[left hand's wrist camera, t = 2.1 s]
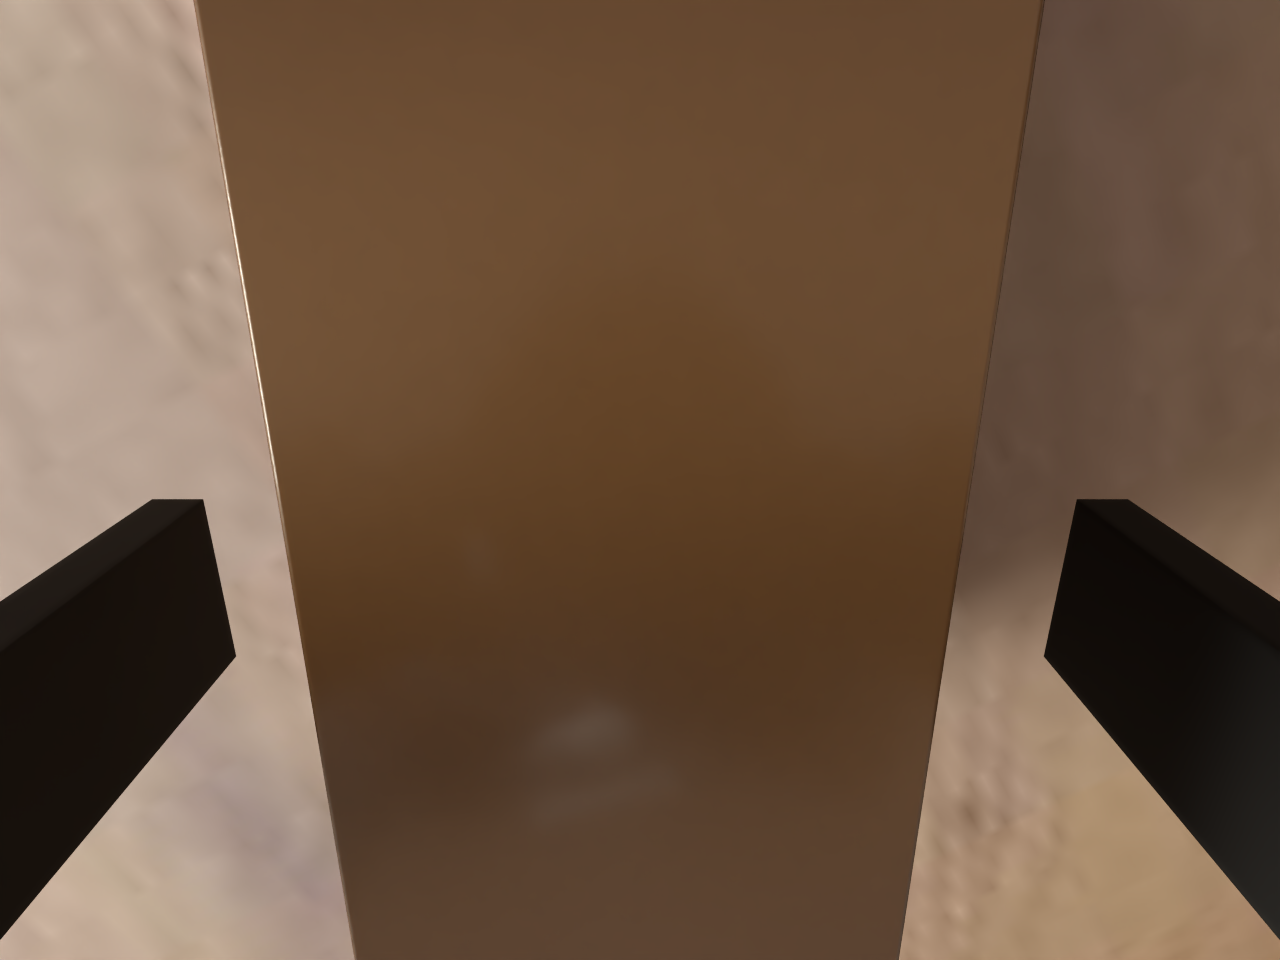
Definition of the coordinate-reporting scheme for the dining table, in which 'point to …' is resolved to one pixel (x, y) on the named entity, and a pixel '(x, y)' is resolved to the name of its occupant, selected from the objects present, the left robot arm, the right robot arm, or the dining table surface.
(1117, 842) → the dining table surface
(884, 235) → the bar
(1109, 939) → the dining table surface
